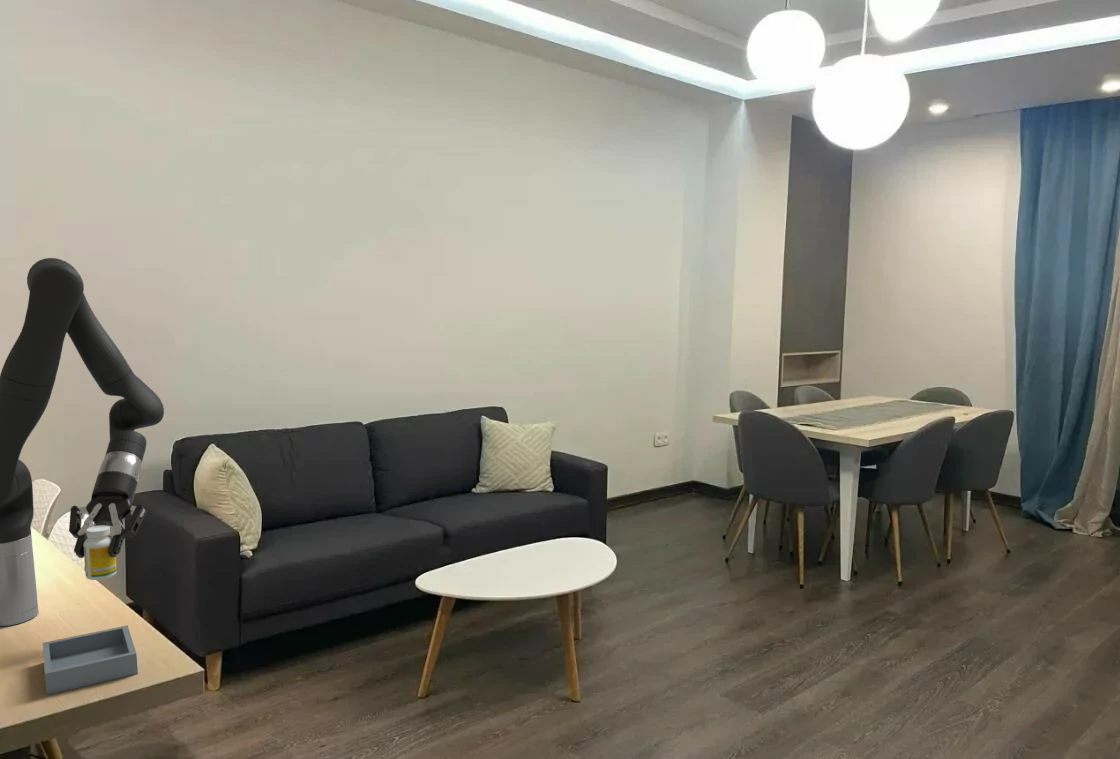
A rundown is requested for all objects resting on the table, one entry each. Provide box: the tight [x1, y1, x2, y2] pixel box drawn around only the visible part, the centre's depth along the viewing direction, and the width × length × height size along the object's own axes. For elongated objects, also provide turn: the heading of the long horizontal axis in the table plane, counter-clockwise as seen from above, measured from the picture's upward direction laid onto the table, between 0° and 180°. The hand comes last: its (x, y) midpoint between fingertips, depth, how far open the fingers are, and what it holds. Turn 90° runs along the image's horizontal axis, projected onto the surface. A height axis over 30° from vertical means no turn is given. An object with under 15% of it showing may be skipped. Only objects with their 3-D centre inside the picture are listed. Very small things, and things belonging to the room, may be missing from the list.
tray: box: [42, 624, 139, 696], centre depth 155 cm, size 14×14×4 cm
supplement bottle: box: [83, 525, 117, 581], centre depth 167 cm, size 5×5×10 cm
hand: (95, 555), depth 165 cm, fingers closed on supplement bottle, 5 cm apart
